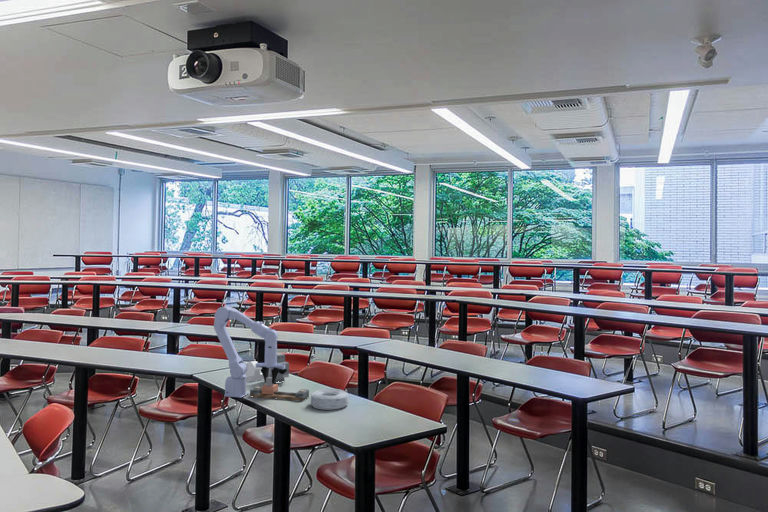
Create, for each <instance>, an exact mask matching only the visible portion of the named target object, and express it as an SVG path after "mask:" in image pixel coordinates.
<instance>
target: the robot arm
mask: <svg viewBox="0 0 768 512" xmlns="http://www.w3.org/2000/svg"><path fill="white" fill-rule="evenodd" d="M213 317H214V321H213V322H214V323H213V329H214V331H215V333H216V334H215V335H217V338H218V340H219V342H220V344H221V347H222V349H223V351H224V353H225V355H226V358H227V360H228V367H229V374H230V376H227V377H226V379H225V383H224V395H223V396H224V397H227V398H228V397H230V398H239V399H240V398H241V399H243V398H244V397H246V396H248V395H250V392H247V383H246V374H245V373H246V371H247V363H245V362H244V361H243V358H242V357H241V356H240V355H239V354H238V351H237V349H236V346H235V345H234V342H233V340H232V337H231V336H230V334H229V331H228V329H227V325H228V323H229V320H236V321H238V322H240V323H242V324H244V325H246V326H247V327H249V328H250V331H251V332H252V333H253V334H255V335H257V336H258V337H260V338H262V339H263V340H264V362H258V363H256V368H258V367H260V370H261V372H262V374H263V376H264V380H263V381H264V383H265V384H266V378H267V377H268V373H269V368H273V369H272V370H271V371H272V384H274V383H275V380H276V377H277V374H278V372H279V370H280V369H285V365H283V364H277V353H278V338H279V334H278V332H277V330H276V329H272V327H269V326H266V325H265V324H264V322H263V321H259V320H258V321H254V320H253V319H251V318H249V317H248V316H247V315H245V314H244V313H242V312H241V311H240V310H238V309H236V308H234V307H232V306H231V305H225V306H224V305H223V306H220V307H219V308H217V310H216V311H215V313H214V316H213ZM247 394H248V395H247ZM243 395H244V397H243ZM245 395H246V396H245ZM242 397H243V398H242Z"/></svg>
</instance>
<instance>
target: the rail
mask: <svg viewBox="0 0 768 512" xmlns="http://www.w3.org/2000/svg"><path fill="white" fill-rule="evenodd" d="M262 386H263V385H256V386H254V387H252V388H251V389H249V397H250V396H253V397H252V398H256V397H261V398H260V399H269V398H277V399H276V400H281V399H289V400H288V401H294V400H300V401H299V402H304V401H306V400H307V399H308V398H309V397H310V390H309V389H306V388H304V389H303V388H302V389H299V390H298V391H296V392H290V391H279V390H278V391H275V392H274V394H262ZM307 397H308V398H307ZM306 398H307V399H306ZM305 399H306V400H305Z"/></svg>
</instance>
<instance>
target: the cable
mask: <svg viewBox="0 0 768 512" xmlns="http://www.w3.org/2000/svg"><path fill="white" fill-rule="evenodd" d="M349 400H350V399H349V397H348V393H347V391H346V390H343V389H339V388H324V389H319V390H316V391H314V392H313V393H311V397H310V405H311V407H312V406H313V408H315V409H317V410H323V411H324V410H327V411H328V410H338V409H343V408H345V407H346V406H347V405H348V404H349Z"/></svg>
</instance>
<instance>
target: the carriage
mask: <svg viewBox="0 0 768 512" xmlns="http://www.w3.org/2000/svg"><path fill="white" fill-rule="evenodd" d="M261 386H262V394H274V392H275V391H279V383H277V384H272V377H267V378H266V383H265V384H263V385H261Z"/></svg>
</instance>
